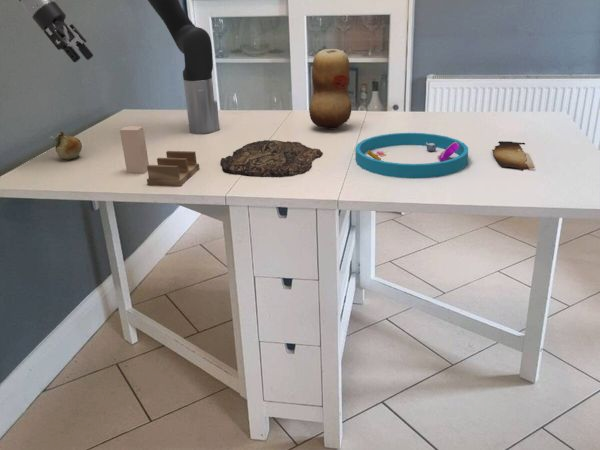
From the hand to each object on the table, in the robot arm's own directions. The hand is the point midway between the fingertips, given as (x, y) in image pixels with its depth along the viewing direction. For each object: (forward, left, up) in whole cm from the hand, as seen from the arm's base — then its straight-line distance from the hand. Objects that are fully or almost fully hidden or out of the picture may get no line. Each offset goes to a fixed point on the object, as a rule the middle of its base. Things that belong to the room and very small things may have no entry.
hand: (84, 59), depth 163 cm
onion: (+8, -6, -29) cm, 30 cm away
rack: (-10, +30, -28) cm, 43 cm away
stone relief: (-38, +34, -29) cm, 59 cm away
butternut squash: (-70, +18, -29) cm, 78 cm away
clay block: (-4, +19, -28) cm, 35 cm away
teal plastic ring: (-67, +59, -29) cm, 94 cm away
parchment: (-90, +74, -29) cm, 120 cm away
